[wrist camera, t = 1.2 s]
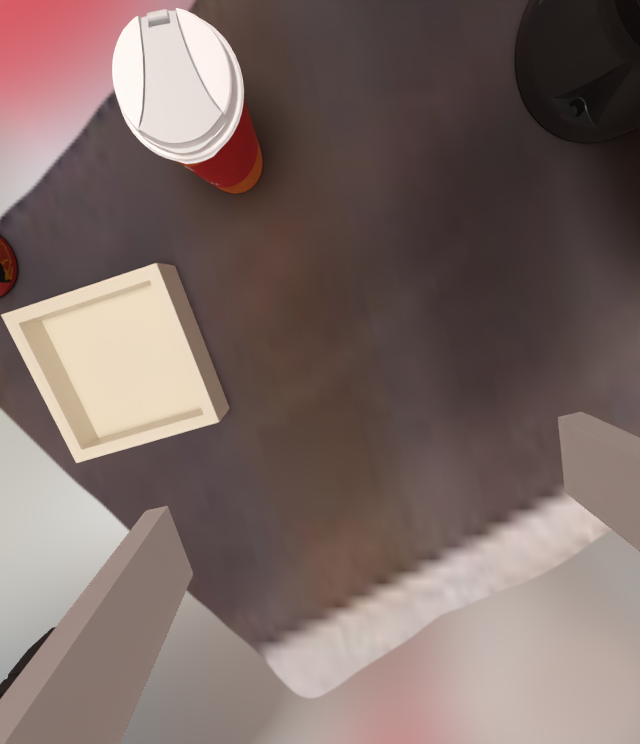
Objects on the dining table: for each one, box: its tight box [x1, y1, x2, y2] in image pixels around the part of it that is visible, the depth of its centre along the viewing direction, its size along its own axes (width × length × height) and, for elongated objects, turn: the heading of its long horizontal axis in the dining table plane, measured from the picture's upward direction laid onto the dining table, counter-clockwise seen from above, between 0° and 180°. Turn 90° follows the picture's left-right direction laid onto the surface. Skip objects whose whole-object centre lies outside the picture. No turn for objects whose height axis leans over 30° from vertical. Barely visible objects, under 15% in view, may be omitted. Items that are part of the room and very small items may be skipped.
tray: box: [1, 263, 230, 463], centre depth 36 cm, size 16×16×4 cm
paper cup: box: [112, 8, 263, 194], centre depth 27 cm, size 8×8×14 cm
